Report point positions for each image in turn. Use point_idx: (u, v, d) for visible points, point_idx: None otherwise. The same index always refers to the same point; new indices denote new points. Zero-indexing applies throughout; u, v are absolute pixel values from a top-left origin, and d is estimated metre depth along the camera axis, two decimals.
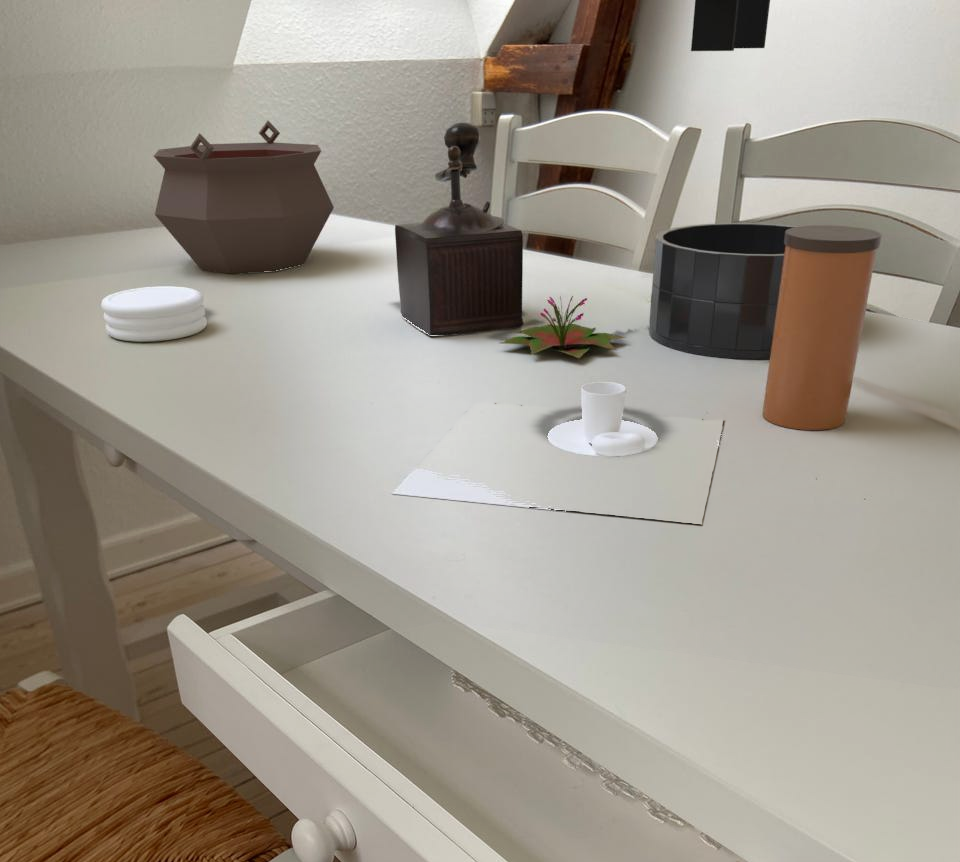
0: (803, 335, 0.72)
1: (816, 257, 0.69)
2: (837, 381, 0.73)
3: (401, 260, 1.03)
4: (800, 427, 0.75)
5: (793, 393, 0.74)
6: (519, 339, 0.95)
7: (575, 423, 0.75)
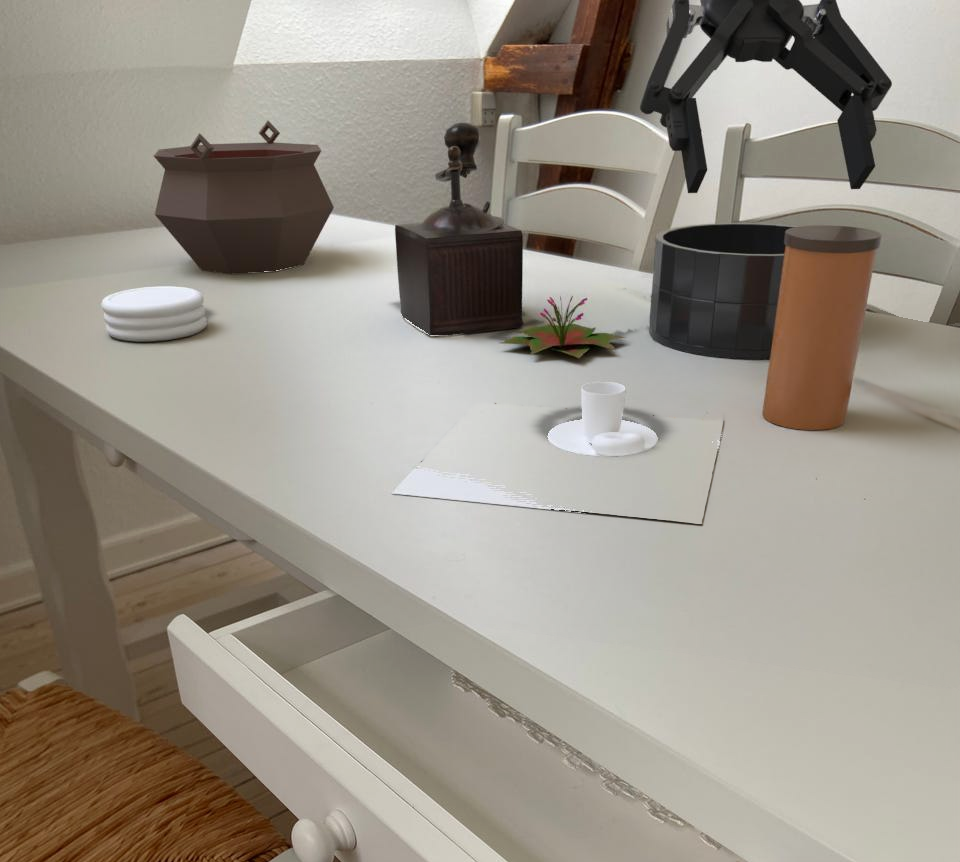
0: (803, 335, 0.72)
1: (816, 257, 0.69)
2: (837, 381, 0.73)
3: (401, 260, 1.03)
4: (800, 427, 0.75)
5: (793, 393, 0.74)
6: (519, 339, 0.95)
7: (575, 423, 0.75)
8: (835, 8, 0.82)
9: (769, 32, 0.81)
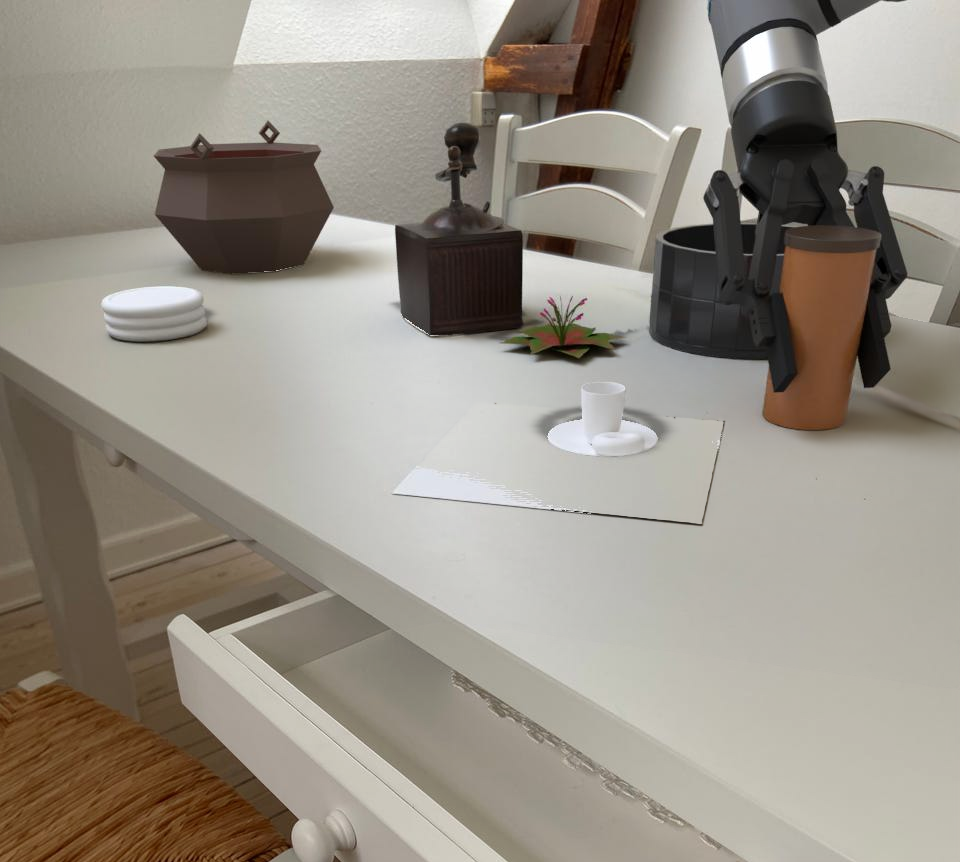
0: (803, 335, 0.72)
1: (816, 257, 0.69)
2: (837, 381, 0.73)
3: (401, 260, 1.03)
4: (800, 427, 0.75)
5: (793, 393, 0.74)
6: (519, 339, 0.95)
7: (575, 423, 0.75)
8: (880, 183, 0.76)
9: (811, 196, 0.75)
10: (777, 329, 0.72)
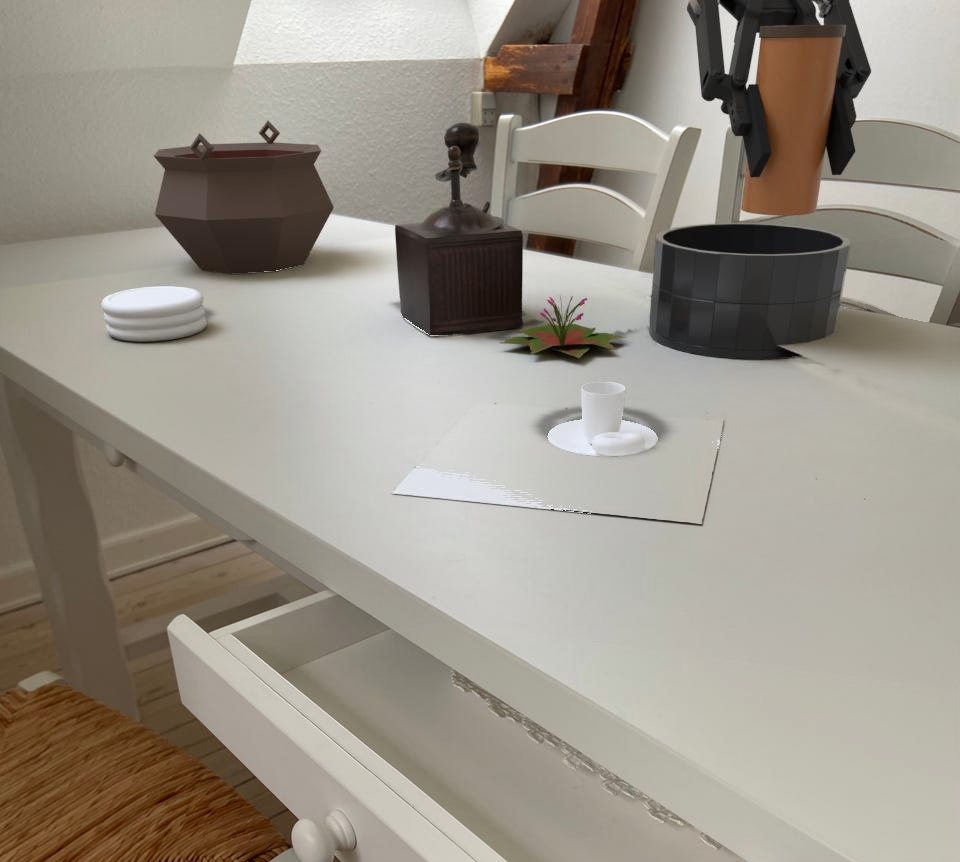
0: (776, 121, 0.79)
1: (787, 43, 0.77)
2: (808, 166, 0.81)
3: (401, 260, 1.03)
4: (775, 213, 0.83)
5: (768, 180, 0.82)
6: (519, 339, 0.95)
7: (575, 423, 0.75)
8: None
9: (784, 3, 0.83)
10: (753, 116, 0.80)
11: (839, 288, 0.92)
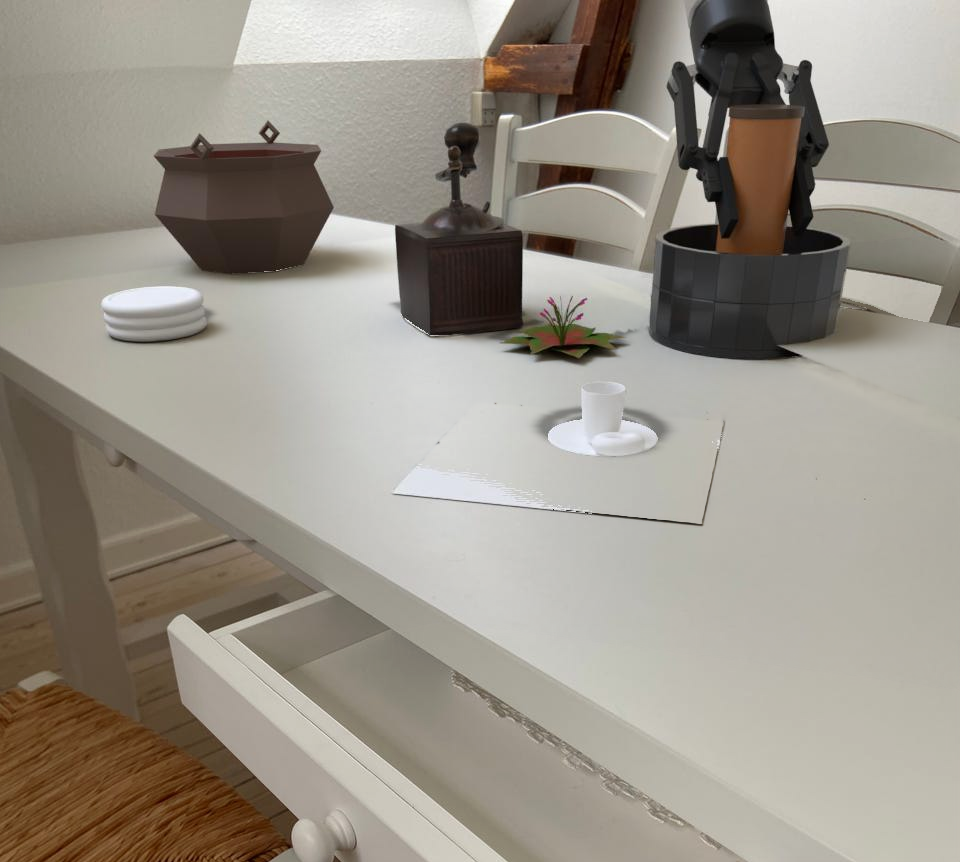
0: (744, 190, 0.90)
1: (752, 123, 0.87)
2: (772, 229, 0.91)
3: (401, 260, 1.03)
4: None
5: (737, 240, 0.92)
6: (519, 339, 0.95)
7: (575, 423, 0.75)
8: (808, 73, 0.94)
9: (753, 82, 0.93)
10: (723, 185, 0.90)
11: (839, 288, 0.92)
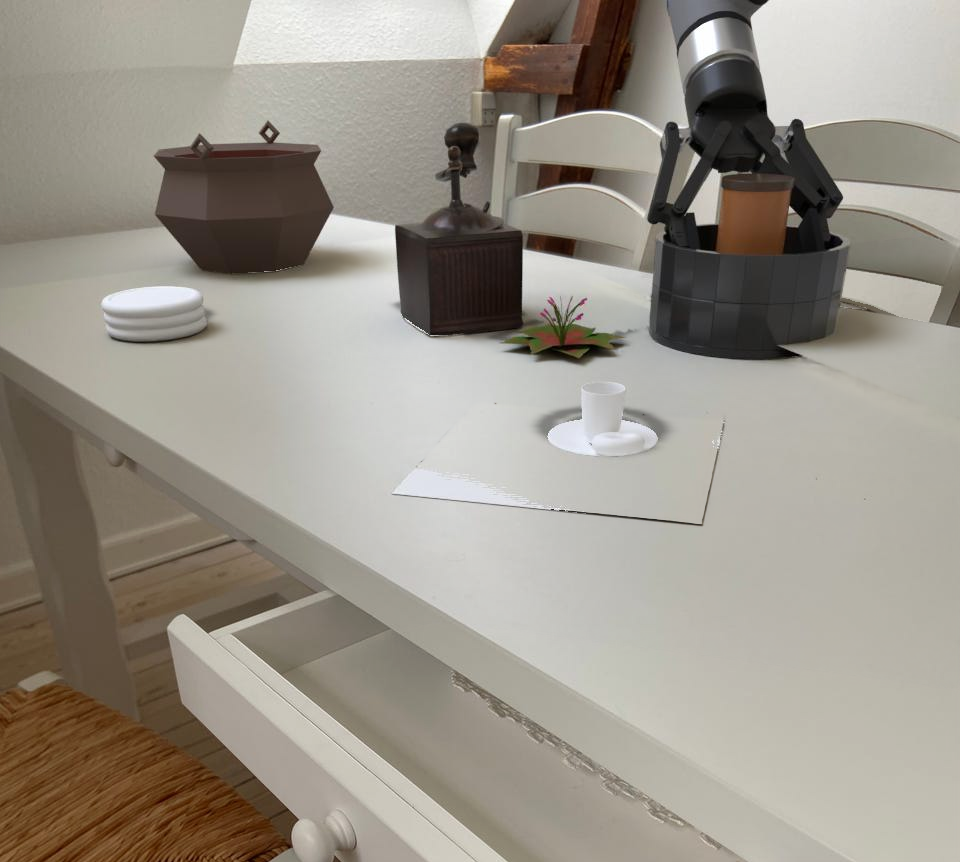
0: None
1: (743, 195, 0.90)
2: None
3: (401, 260, 1.03)
4: None
5: None
6: (519, 339, 0.95)
7: (575, 423, 0.75)
8: (802, 131, 0.97)
9: (746, 149, 0.96)
10: (689, 240, 0.93)
11: (839, 288, 0.92)
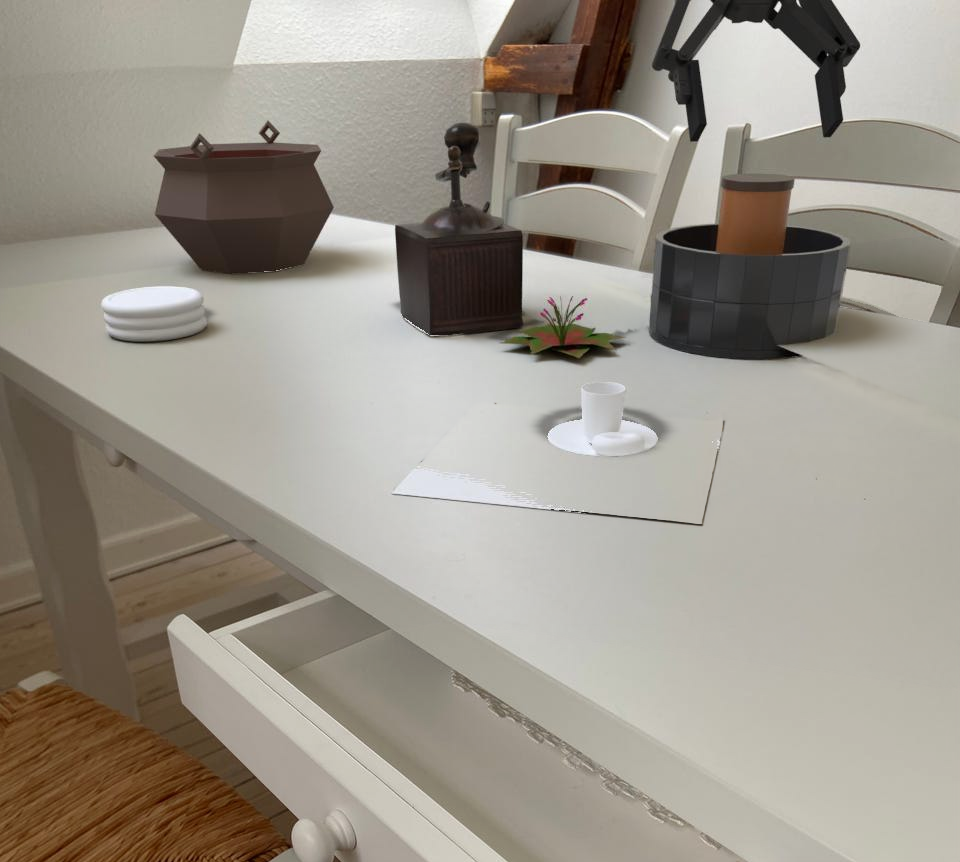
0: None
1: (743, 195, 0.90)
2: None
3: (401, 260, 1.03)
4: None
5: None
6: (519, 339, 0.95)
7: (575, 423, 0.75)
8: None
9: None
10: (693, 89, 0.95)
11: (839, 288, 0.92)
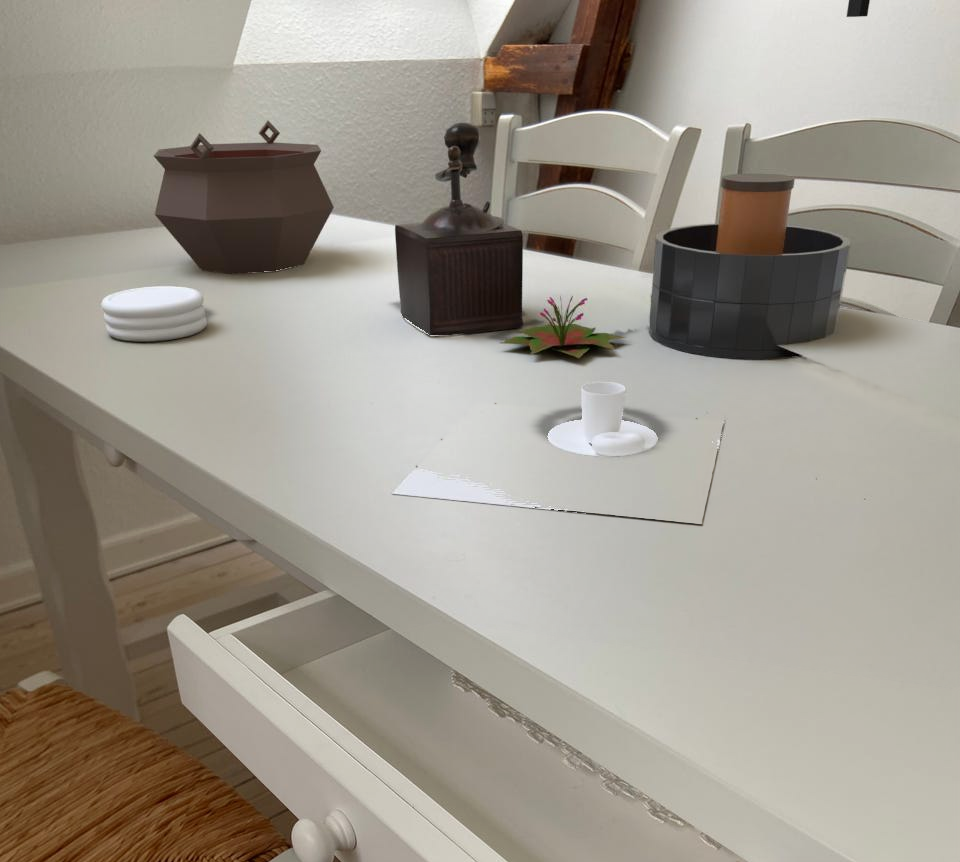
0: None
1: (743, 195, 0.90)
2: None
3: (401, 260, 1.03)
4: None
5: None
6: (519, 339, 0.95)
7: (575, 423, 0.75)
8: None
9: None
10: None
11: (839, 288, 0.92)
